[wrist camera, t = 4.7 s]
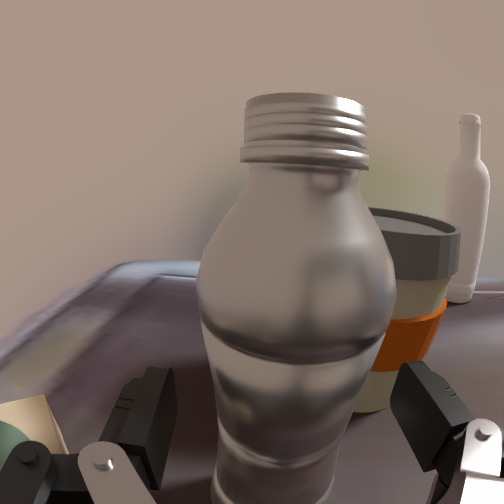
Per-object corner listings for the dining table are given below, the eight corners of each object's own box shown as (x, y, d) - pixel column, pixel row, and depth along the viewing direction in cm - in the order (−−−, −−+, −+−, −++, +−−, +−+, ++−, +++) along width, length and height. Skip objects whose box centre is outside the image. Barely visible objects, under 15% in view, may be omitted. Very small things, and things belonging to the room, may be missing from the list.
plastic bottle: (194, 533, 12) (141, 89, 6) (237, 458, 18) (243, 122, 13) (308, 563, 10) (444, 86, 4) (331, 478, 16) (401, 130, 11)
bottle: (421, 288, 48) (438, 110, 40) (450, 284, 50) (467, 121, 42) (451, 306, 41) (473, 107, 33) (479, 300, 42) (500, 120, 34)
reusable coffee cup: (282, 347, 32) (293, 202, 28) (390, 342, 33) (414, 210, 29) (300, 435, 20) (329, 231, 16) (441, 413, 20) (497, 240, 16)
